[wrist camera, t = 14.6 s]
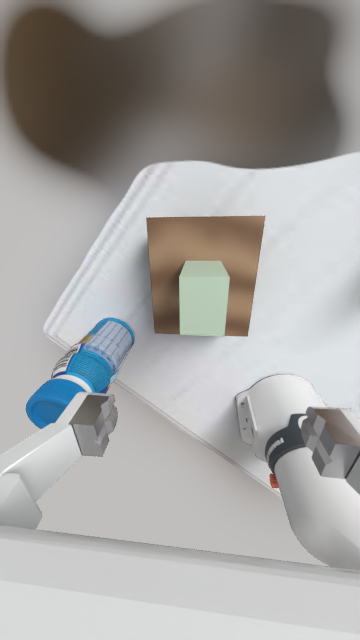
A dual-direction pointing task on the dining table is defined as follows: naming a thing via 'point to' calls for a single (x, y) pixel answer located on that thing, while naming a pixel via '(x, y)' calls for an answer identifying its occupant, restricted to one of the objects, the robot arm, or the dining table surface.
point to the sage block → (203, 298)
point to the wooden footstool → (204, 245)
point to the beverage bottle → (83, 370)
